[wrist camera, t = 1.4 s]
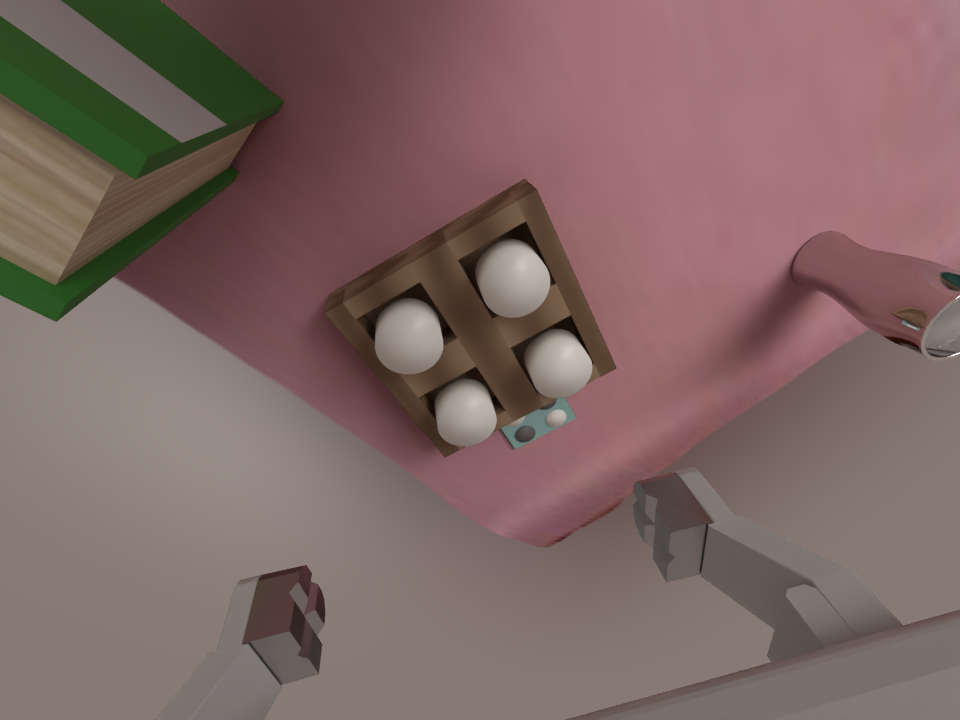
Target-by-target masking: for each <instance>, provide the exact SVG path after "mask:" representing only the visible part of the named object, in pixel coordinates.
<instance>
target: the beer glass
mask: <svg viewBox="0 0 960 720" xmlns="http://www.w3.org/2000/svg"><path fill="white" fill-rule="evenodd" d="M792 275H793V278H794V280H795V282H796V283H797V284H799V285H800V286H802V287H805V288H808V289H812V290H815V291H819V292H821V293H824V294H826V295H828V296H829V297H831V298H832V299H834V300H835V301H836V302H837V303H839V304H840V305H841V306H842V307H843V308H844V309H845V310H847V311H848V312H849V313H850V314H851V315H852V316H854V317H855V318H856V319H857V320H858V321H860V322H861V323H862V324H864V325H865V326H866V327H868V328H869V329H870V330H872V331H874V332H876V333H877V334H879V335H880V336H882V337H884V338H886V339H888V340H890V341H892V342H894V343H895V344H898V345H900V346H902V347H904V348H906V349H909V350H911V351H913V352H915V353H918V354H920V355H922V356H924V357H926V358H927V359H929V360H933V361H944V360H949V359H952V358H955V357H957V356H960V272H959V271H956V270H954V269H951V268H949V267H947V266H944V265H941V264H938V263H935V262H932V261H929V260H925V259H920V258H916V257H912V256H907V255H901V254H895V253H890V252H884V251H879V250H874V249H870V248H867V247H864V246H862V245H859V244H858V243H856V242H855V241H853V240H852V239H850V238H849V237H848V236H846V235H845V234H843V233H840V232H837V231H828V232H824V233H821V234H819V235H817V236H815V237H813V238H812V239H811V240H809V241H808V242H807V243H806V244H805V245H804V246H803V247H802V248H801V249H800V251H799V252H798V254H797V256H796V257H795V260H794V263H793V267H792Z"/></svg>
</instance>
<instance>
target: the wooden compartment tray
mask: <svg viewBox="0 0 960 720" xmlns="http://www.w3.org/2000/svg"><path fill="white" fill-rule="evenodd" d="M504 239H516V240H520V241H523V242H525V243H526V244H528V245H529V246H530V247H531V248H532V249H533V250H534V251H535V253H536V254H537V255H538V257H539V258H540V259H541V260H542V262H543V263H544V264H545V266H546V267H547V269H548V272H549V275H550V288H549V292H548V295H547V297H546V299H545V300H544V302H543V303H542V304H541V305H540V306H539V307H538V308H537V309H536V310H535V311H533V312H532V313H530V314H528V315H525V316H522V317H517V318H507V317H503V316H500V315H498V314H496V313H494V312H493V311H492V310H490V308H489V307H488V306H487V305H486V303H485V301H484V299H483V297H482V294H481V292H480V289H479V287H478V284H477V281H476V277H475V269H476V264H477V261H478V259H479V257H480V255H481V254H482V252H483V251H484V250H485V249H486V248H487V247H488V246H490V245H491V244H493V243H495V242H497V241H500V240H504ZM402 298H414V299H418V300H421V301H424V302H425V303H427V304H428V305H430V306H431V307H432V308H433V309H434V311H435V312H436V314H437V316H438V318H439V322H440V327H441V333H442V338H443V351H442V354H441V356H440V358H439V360H438V361H437V362H436V363H435V364H434V365H433V366H432V367H431V368H429V369H428V370H426V371H424V372H421V373H417V374H400V373H396V372H394V371H392V370H390V369H388V368H387V367H385V366H384V365H383V364H382V363H381V362H380V360H379V359H378V357H377V354H376V351H375V332H376V320H377V317H378V315H379V313H380V312H381V310H382V309H383V308H384V307H385V306H386V305H387V304H389V303H390V302H392V301H395V300H397V299H402ZM325 314H326V315H327V317H328V318H329V319H330V320H331V321H332V323H333V324H334V325H335V326H336V327H337V329H338V330H339V331H340V332H341V333H342V335H343V336H344V337H345V338H346V339H347V341H348V342H349V343H350V344H351V345H352V347H353V348H354V349H355V350H356V351H357V353H358V354H359V355H360V356H361V357H362V359H363V360H364V361H365V362H366V363H367V365H368V366H369V367H370V368H371V369H372V371H373V372H374V373H375V374H376V375H377V377H378V378H379V379H380V380H381V381H382V383H383V384H384V385H385V386H386V387H387V389H388V390H389V391H390V392H391V393H392V395H393V396H394V397H395V398H396V399H397V401H398V402H399V403H400V404H401V405H402V407H403V408H404V409H405V410H406V411H407V413H408V414H409V415H410V416H411V417H412V419H413V420H414V421H415V422H416V423H417V425H418V426H419V427H420V428H421V429H422V431H423V432H424V433H425V434H426V435H427V437H428V438H429V439H430V440H431V441H432V443H433V444H434V445H435V446H436V447H437V449H438V450H439V451H440V452H441V453H442V455H443V456H444V457H447V456H449V455H451V454H453V453H454V452H456V451H458V450H460V449H462V448H464V447H466V446H456V445H452V444H450V443H448V442H446V441H445V440H444V439H443V438H442V437H441V436H440V434H439V432H438V427H437V420H436V413H435V405H434V403H435V397H436V395H437V393H438V391H439V390H440V389H441V388H442V387H443V386H444V385H446V384H447V383H449V382H451V381H454V380H457V379H473V380H476V381H478V382H480V383H482V384H483V385H484V386H485V387H486V388H487V389H488V391H489V394H490V397H491V400H492V404H493V407H494V410H495V413H496V418H497V422H496V427H495V429H494V431H493V432H495V431H497V430H499V429H501V428H503V427H505V426H507V425H508V424H510V423H512V422H514V421H516V420H518V419H520V418H522V417H524V416H526V415H528V414H530V413H532V412H533V411H535V410H537V409H539V408H541V407H543V406H545V405H547V404H549V403H551V402H553V401H555V400H557V399H559V398H550V397H546V396H544V395H542V394H541V393H539V392H538V390H537V389H536V388H535V386H534V384H533V381H532V379H531V377H530V375H529V372H528V370H527V368H526V366H525V363H524V353H525V349H526V347H527V345H528V344H529V342H530V341H531V340H532V339H533V338H534V337H535V336H537V335H538V334H540V333H541V332H544V331H546V330H550V329H564V330H567V331H569V332H571V333H572V334H573V335H575V337H576V338H577V339H578V341H579V342H580V344H581V345H582V347H583V348H584V350H585V351H586V353H587V354H588V356H589V357H590V359H591V361H592V374H591V376H590V379H589V381H588V382H587V383H589V382H591V381H593V380H595V379H597V378H599V377H601V376H603V375H605V374H607V373H609V372H611V371H613V370H614V369H616V366H615V363H614V361H613V359H612V357H611V354H610V352H609V350H608V348H607V345H606V343H605V341H604V339H603V337H602V334H601V332H600V330H599V328H598V325H597V323H596V321H595V319H594V316H593V314H592V312H591V310H590V307H589V305H588V303H587V301H586V298H585V296H584V294H583V292H582V289H581V287H580V285H579V283H578V280H577V278H576V276H575V274H574V271H573V269H572V267H571V265H570V263H569V260H568V258H567V256H566V254H565V251H564V249H563V247H562V245H561V242H560V240H559V238H558V236H557V233H556V231H555V229H554V227H553V224H552V222H551V220H550V218H549V215H548V213H547V211H546V209H545V206H544V204H543V202H542V200H541V198H540V195H539V193H538V191H537V189H536V188H535V187H533V186H532V185H531V184H530V183H529V182H528V181H527V180H525V179H524V180H522V181H520V182H519V183H517V184H515V185H514V186H512V187H510V188H508V189H507V190H505V191H503V192H502V193H500V194H498V195H497V196H495V197H493V198H492V199H490V200H488V201H486V202H485V203H483V204H481V205H480V206H478V207H476V208H475V209H473V210H471V211H470V212H468V213H466V214H464V215H463V216H461V217H459V218H458V219H456V220H454V221H453V222H451V223H449V224H447V225H446V226H444V227H442V228H441V229H439V230H437V231H436V232H434V233H432V234H431V235H429V236H427V237H425V238H424V239H422V240H420V241H419V242H417V243H415V244H414V245H412V246H410V247H408V248H407V249H405V250H403V251H402V252H400V253H398V254H397V255H395V256H393V257H392V258H390V259H388V260H386V261H385V262H383V263H381V264H380V265H378V266H376V267H375V268H373V269H371V270H369V271H368V272H366V273H364V274H363V275H361V276H359V277H358V278H356V279H354V280H353V281H351V282H349V283H347V284H346V285H344V286H342V287H341V288H339V289H337V290H336V291H334V292H332V293H330V295H329V299H328V303H327V307H326V311H325ZM587 383H586V384H587ZM493 432H492V433H493Z"/></svg>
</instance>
